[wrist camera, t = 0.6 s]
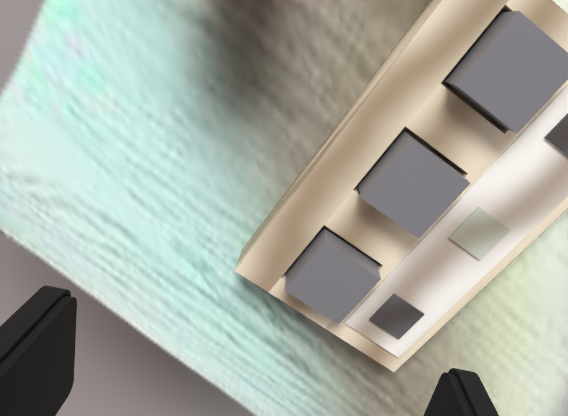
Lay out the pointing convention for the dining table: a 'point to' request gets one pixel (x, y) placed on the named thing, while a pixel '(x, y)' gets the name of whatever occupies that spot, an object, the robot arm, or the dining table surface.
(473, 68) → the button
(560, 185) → the button board
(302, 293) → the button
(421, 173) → the button middle
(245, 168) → the dining table surface
